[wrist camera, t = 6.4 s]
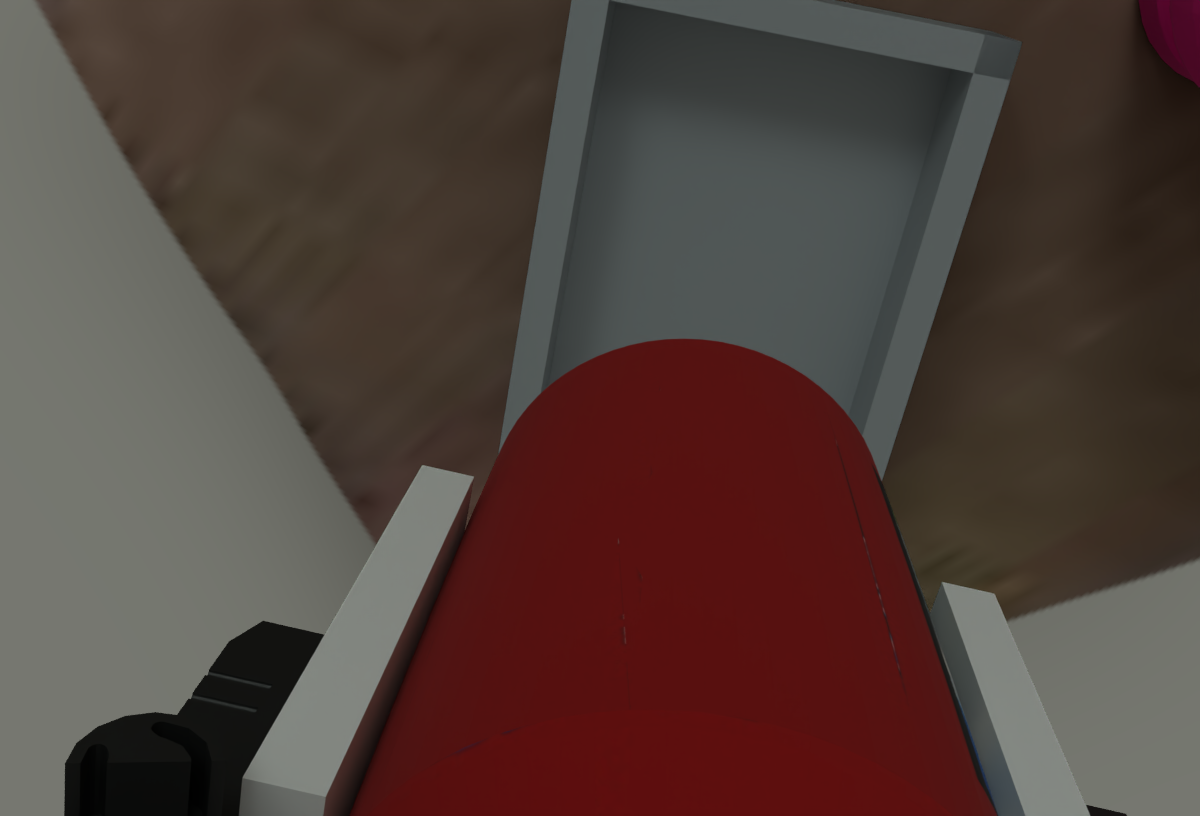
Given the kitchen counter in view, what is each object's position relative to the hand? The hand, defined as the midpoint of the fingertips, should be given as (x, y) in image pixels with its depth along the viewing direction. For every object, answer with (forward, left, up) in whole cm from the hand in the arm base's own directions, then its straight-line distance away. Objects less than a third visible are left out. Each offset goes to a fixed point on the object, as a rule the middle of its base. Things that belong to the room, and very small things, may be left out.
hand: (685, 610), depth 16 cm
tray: (0, +1, -22) cm, 22 cm away
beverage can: (0, 0, -4) cm, 4 cm away
